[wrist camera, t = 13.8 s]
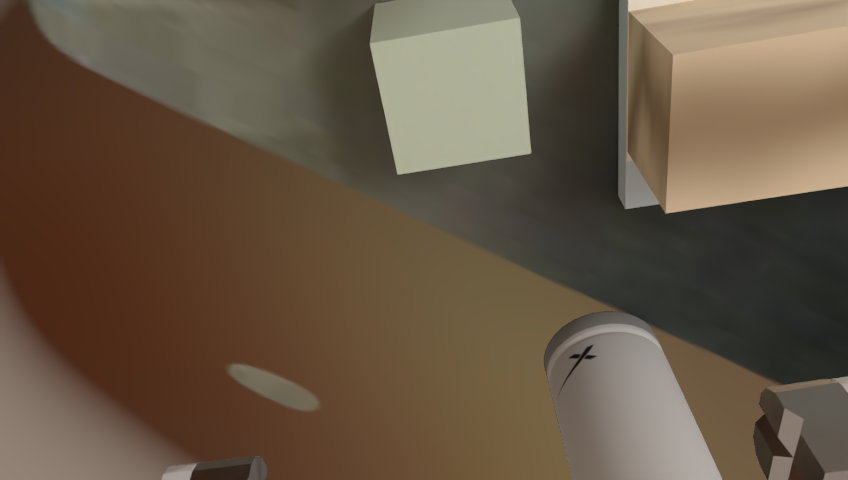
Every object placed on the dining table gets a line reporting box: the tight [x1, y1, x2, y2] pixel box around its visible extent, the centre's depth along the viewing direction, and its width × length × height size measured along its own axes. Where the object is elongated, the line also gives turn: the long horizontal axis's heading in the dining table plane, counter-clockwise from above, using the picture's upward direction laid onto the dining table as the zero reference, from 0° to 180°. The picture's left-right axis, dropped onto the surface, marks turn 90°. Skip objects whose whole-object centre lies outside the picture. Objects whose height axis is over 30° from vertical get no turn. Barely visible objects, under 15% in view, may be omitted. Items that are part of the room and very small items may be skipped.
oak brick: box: [628, 0, 848, 213], centre depth 24 cm, size 6×14×5 cm, turn 99°
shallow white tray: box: [618, 0, 692, 209], centre depth 27 cm, size 12×14×1 cm
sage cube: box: [370, 0, 531, 175], centre depth 25 cm, size 5×5×5 cm
